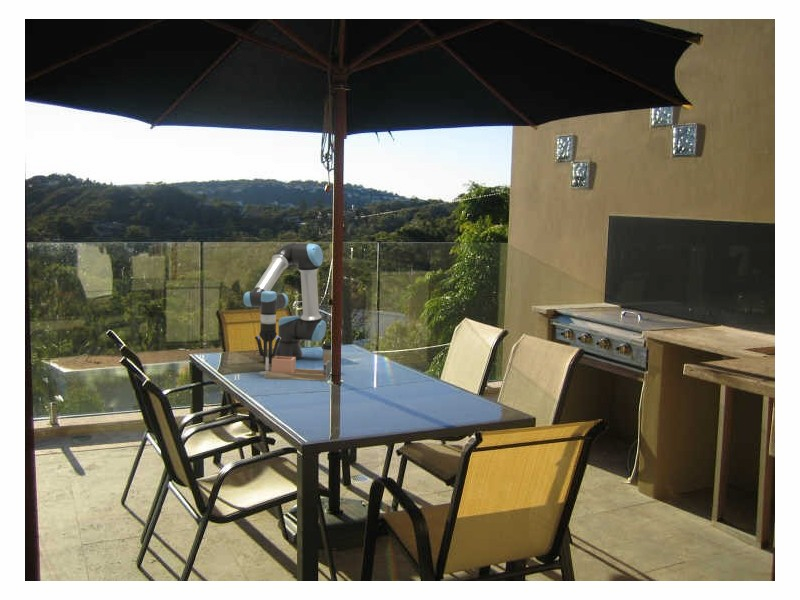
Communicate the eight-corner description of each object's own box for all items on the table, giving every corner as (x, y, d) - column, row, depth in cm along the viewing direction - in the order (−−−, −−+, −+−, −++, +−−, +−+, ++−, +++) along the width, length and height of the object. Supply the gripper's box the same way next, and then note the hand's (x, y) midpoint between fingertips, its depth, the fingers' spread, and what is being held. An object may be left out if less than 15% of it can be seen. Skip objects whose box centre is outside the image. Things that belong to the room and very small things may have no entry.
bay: (270, 373, 414) (271, 357, 413) (329, 376, 411) (330, 360, 411) (264, 378, 402) (265, 362, 401) (325, 381, 400) (326, 364, 399)
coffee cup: (341, 372, 423) (341, 343, 421) (337, 375, 413) (338, 346, 412) (322, 371, 424) (323, 342, 422) (319, 374, 414) (319, 345, 413)
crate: (275, 371, 412) (275, 356, 411) (295, 372, 411) (295, 357, 410) (271, 374, 403) (271, 359, 402) (291, 375, 403) (291, 360, 402)
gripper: (253, 323, 402) (252, 370, 405) (279, 324, 401) (278, 372, 403) (257, 321, 409) (256, 367, 412) (283, 322, 408) (282, 369, 411)
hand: (267, 369), depth 408 cm, fingers closed
